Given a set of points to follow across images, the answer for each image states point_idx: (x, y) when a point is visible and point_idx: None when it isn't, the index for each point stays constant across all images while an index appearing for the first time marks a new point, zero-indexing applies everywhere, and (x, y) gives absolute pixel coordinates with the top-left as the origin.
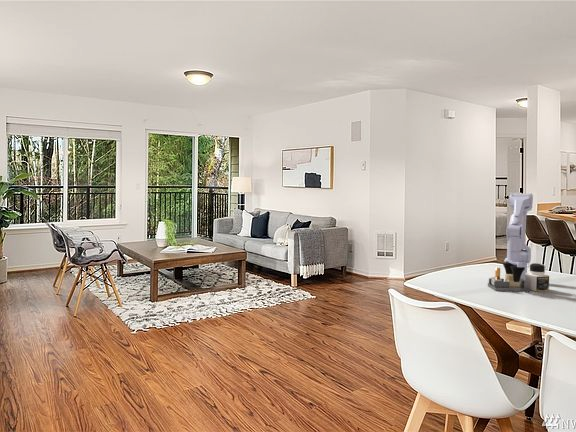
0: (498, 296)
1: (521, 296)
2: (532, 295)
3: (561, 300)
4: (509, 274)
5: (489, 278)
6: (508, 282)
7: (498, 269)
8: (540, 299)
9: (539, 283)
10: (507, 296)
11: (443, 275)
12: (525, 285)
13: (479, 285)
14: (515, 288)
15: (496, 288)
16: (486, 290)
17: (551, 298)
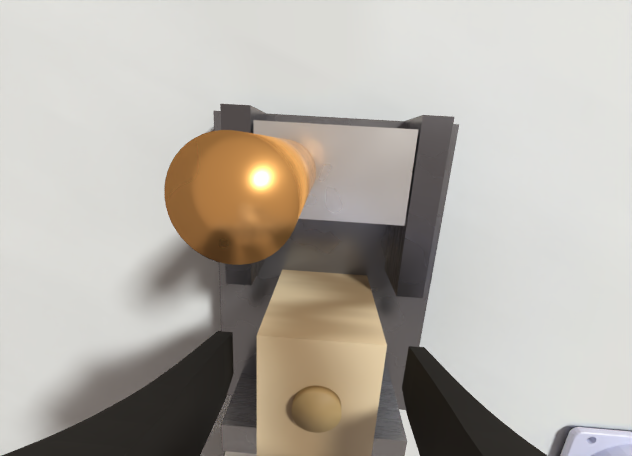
0: (5, 44)
1: (62, 252)
2: (115, 343)
3: (18, 438)
4: (357, 384)
5: (442, 121)
6: (226, 269)
7: (183, 186)
8: (5, 337)
9: None
10: (30, 135)
11: None
12: (234, 396)
13: (486, 43)
14: (221, 297)
15: (216, 120)
16: (245, 23)
17: (56, 412)
